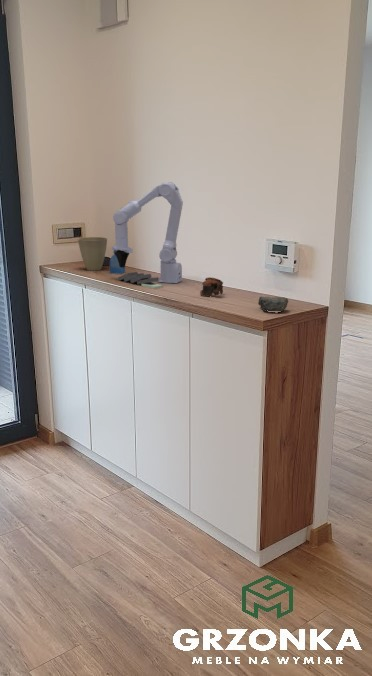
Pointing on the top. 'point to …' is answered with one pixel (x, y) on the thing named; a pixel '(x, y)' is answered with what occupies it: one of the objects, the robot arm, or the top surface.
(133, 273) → the domino
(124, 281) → the domino
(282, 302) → the rock
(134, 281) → the domino
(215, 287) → the brown irregular lump
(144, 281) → the domino
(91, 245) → the plant pot
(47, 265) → the top surface
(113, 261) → the perfume bottle
